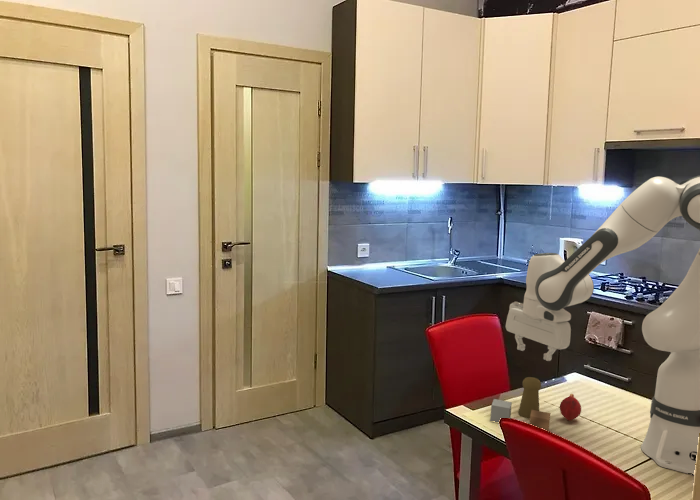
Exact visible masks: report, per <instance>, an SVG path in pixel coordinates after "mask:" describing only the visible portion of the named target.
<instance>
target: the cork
mask: <svg viewBox="0 0 700 500" xmlns="http://www.w3.org/2000/svg"><path fill="white" fill-rule="evenodd" d="M522 388H523V391H522V396H521V400H520V403H519V408H518V411H517V414H518V415H519V416H520V417H522V418H524V419H528V420H530V415H531V410H536V411H540V396H539V395H540V394H539V392H540V390H541V388H542V382H541V381H540V380H539V378H537V377H531V376H528V377H524V379H523V380H522Z"/></svg>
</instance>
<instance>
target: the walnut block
mask: <svg viewBox="0 0 700 500" xmlns="http://www.w3.org/2000/svg"><path fill="white" fill-rule="evenodd" d="M550 422H551V412H545V411H540V410H539V411H536V410H531V415H530V419H529V424H532V425H534V426H537V427H539V428H543V429H545V430H547V431H549V430H550V424H551V423H550Z"/></svg>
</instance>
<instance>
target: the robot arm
mask: <svg viewBox="0 0 700 500" xmlns="http://www.w3.org/2000/svg"><path fill="white" fill-rule="evenodd" d="M678 217H682V218H683V219H684V221H686V223H688V224H689V225H690V226H692V227H693V228H695V229H697V230H698V231H700V175H697V176H693V177H690V178H688V179H685V180H684V179H683V180H681V181H680V182H679V183H677V182H675V180H672V179H671V178H668V177H665V176H654V177H651V178H649V179H647V180H646V181H645V182H643V183H642V184H641V185H640V186H638V187H637V188H636V189H635V190H633V191H632V192H631V193H630V194H629V195H628V196H626V198H625V199H624V200H623V201H622V202H621V203H620V204H619V205H618V206H617V207H616V208H615V210H614V211H613V212H612V213H611V214H610V215H609V217H607V218H606V220H605V221H604V222H603V223H602V224H601V225H600V227H598V229H596V231H595V232H593V234H592V235H591V236H590V237H589V238H588V239H587V240H586V241H585V242H584V243H582V244H581V245H580V246H579V247H578V248H577V249H576V250H575V251H574V252H573V253H572V254H570V255H569V257H567V259H565V260H564V259H563V258H562V256H561V255H560V254H559V253H556V252H542V253H541V252H540V253H536V254H534V255H532V256H531V257H530V260H529V261H528V266H527V272H526V277H525V283H526V290H525V293H524V296H523V302H518V301H514V302H511V303H510V304H509V310H508V314H507V315H506V322H505V329H506V331H507V332H509V333H512V334H514V339H515V341H516V344H517V347H516V349H517V350H518V351H522V352H523V351H525V349H526V344H525V343H524V341H523V338H526V339H528V340H532V341H534V342H537V343H540V344H543V345H546V346H547V350H548V351H547V352H545V353H543V358H542V359H543V360H545V361H547V362H551V361H552V358H553V354H554V353H555V352H556V351H557V350H566V349H567V348H568V347H569V346H570V343H571V334H572V333H571V331H572V329H571V324H570V322H569V321H571V319H572V314H571V313H570V312H569V311H567V310H566V309H565V308H567V307H571V306H575V305H578V304H582V303H584V302H586V301H588V300H589V299H590V298H591V297H592V296H593V293H594V289H595V288H594V286H595V284H594V280H593V278H592V276H590V274H591V273H592V272H593V271H594V270H595V269H596V268H598V266H600V265H601V264H602V263H604V262H605V261H607V260H609V259H611V258H613V257H615V256H619V255H621V254H625V253H628V252H632V251H635V250H637V249H638V248H640V247H641V246H643V245H644V244H646V243H647V242H649V241H650V240H651V239H652V238H654V237H655V236H656V235H657V234H658V233H659V232H660V231H661V230H662V229H663V228H664V227H665V226H666V225H667V224H668V223H669V222H670V221H672V220H673V219H675V218H678ZM641 332H642V335H643V336H642V337H643V339H644V341H645V342H646V343H647V345H648V346H650V347H651V348H653V349H654V350H658V351H663V352H668V353H669V352H670V354H669V356H668V357H667V358H666V359H665V361H664V362H662V363H661V365H660V366H659V367H658V370H657V374H656V376H657V377H656V383H655V391H654V396H653V397H652V399H651V404H650V410H649V413H650V414H649V415H650V416H649V417H650V420H649V425H648V428H647V430H646V431H647V432H646V434H645V437H644V438H643V440H642V442H641V445H640V449H641V451H642V452H643V453H644V454H645V455H646V456H648V457H649V458H651V459H652V460H653V461H654V462H655V463H656V464H657V465H658V466H659V467H662V468H666V469H669V470H673V471H677V472H681V473H684V474H688V473H692V474H693V473H694V470H695V463H696V455H697V445H698V437H699V433H700V248H698V251H697V253H696V255H695V257H694V259H693V261H692V262H691V265H690V266H689V268H688V271H687V273H686V275H685V276H684V278H683V280H682V281H681V282H680V284H679V285H678V286H677V287H676V288H675V290H674V291H673V292H672V293H671V294H670V295H669V296H668V298H666V299H665V301H664V302H662V304H661V305H659V306H658V307H657V308H655V309H654V310H653V311H650V312H649V313H648V314H647V315H646V316H645V317H644V318H643V320H642V325H641ZM692 474H691V475H692ZM692 476H695V475H694V474H693V475H692Z"/></svg>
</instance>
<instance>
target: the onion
mask: <svg viewBox="0 0 700 500" xmlns="http://www.w3.org/2000/svg"><path fill="white" fill-rule="evenodd" d="M559 411H560V415H562V417H563V418H564V419H566V421H568V422H571V421H573V420H575V419H577V418H578V417H579V416H580V415H581V413H582V406H581V403H580V401H579V400H578V399H577V398H576V397H575V395H574V394H573V393H570V394H569V396H568V397H567V396H566V397H565V398H563V399H562V400H561V402H560V404H559Z"/></svg>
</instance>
